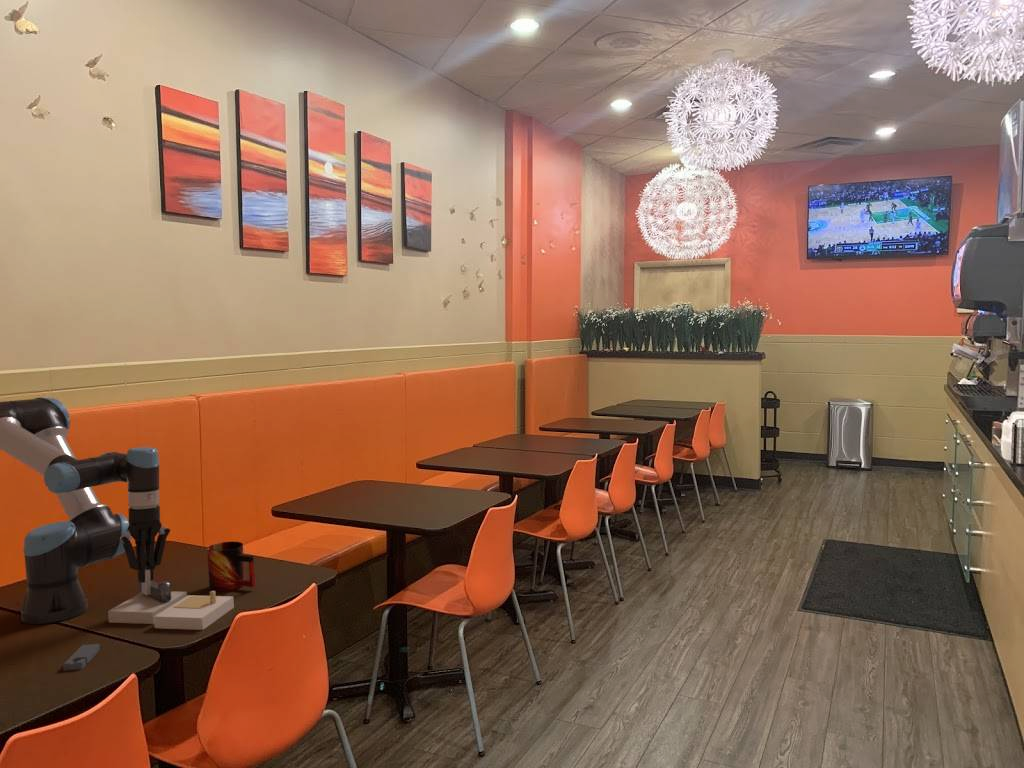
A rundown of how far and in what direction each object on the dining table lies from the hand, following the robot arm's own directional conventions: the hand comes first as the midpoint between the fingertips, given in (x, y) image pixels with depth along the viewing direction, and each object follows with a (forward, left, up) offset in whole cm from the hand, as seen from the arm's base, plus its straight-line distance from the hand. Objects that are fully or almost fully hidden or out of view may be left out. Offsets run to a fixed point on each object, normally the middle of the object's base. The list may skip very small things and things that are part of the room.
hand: (146, 593), depth 201 cm
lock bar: (+2, +1, -1) cm, 2 cm away
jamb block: (+2, -2, -4) cm, 5 cm away
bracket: (+5, -30, -5) cm, 31 cm away
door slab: (+17, -4, -4) cm, 18 cm away
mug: (+15, +19, -5) cm, 25 cm away
